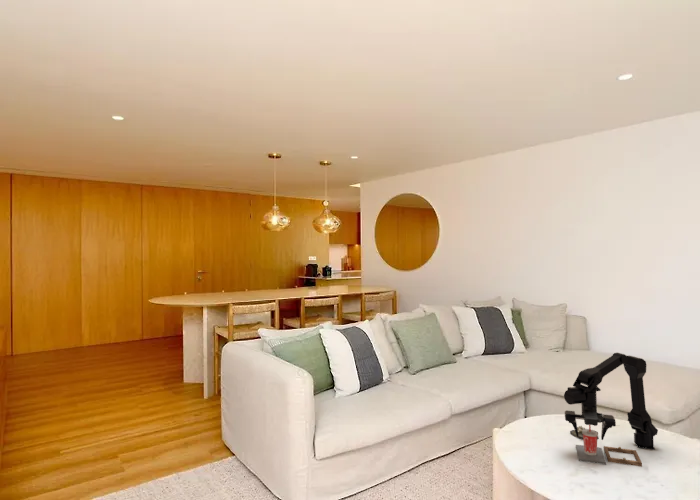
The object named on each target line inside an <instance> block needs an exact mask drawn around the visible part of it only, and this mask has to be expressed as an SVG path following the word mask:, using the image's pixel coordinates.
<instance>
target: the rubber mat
mask: <svg viewBox="0 0 700 500" xmlns="http://www.w3.org/2000/svg"><path fill="white" fill-rule="evenodd" d="M575 450H576V454H577V455H576V456H577V460H578V462H583V463H584V462H585V463H593V464H599V465H607V462H606V460H607V459H606V458H605V457H606V456H605V453H604V450H603V448H602V447H598V446H597V454H596V455H588V454H586V453H585V452H584V444H583V445H582V444H575Z"/></svg>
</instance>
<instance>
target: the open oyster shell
mask: <svg viewBox="0 0 700 500" xmlns="http://www.w3.org/2000/svg"><path fill="white" fill-rule="evenodd" d="M577 429H578V437H577V435H576V432H575V429H572V430H570V431H569V432H570V433H569V434H570V435H571V436H573V437H575V438H577V439H579V440H582V441H583V434H582V430H583V429H586V428H585V427H584V426H582V425H579V426H577ZM598 440H599V435H598V436H597V441H598Z"/></svg>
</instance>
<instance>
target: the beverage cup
mask: <svg viewBox="0 0 700 500" xmlns="http://www.w3.org/2000/svg"><path fill="white" fill-rule="evenodd" d="M591 426H592V425H588V427H589V428H585V429H583V430H582V434H583V440H582V441H583V446H584V452H585V453H586V454H588V455H596V454H597V447H598V440H597V436H598V437H599V432H598V431H596V430H595V429H591Z"/></svg>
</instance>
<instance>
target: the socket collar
mask: <svg viewBox="0 0 700 500" xmlns="http://www.w3.org/2000/svg"><path fill="white" fill-rule="evenodd" d="M610 452H613V453H618V454H627V455H632V456H633V457H634V459H635V460H633V459H627V458H625V457H622V458H620V457H619V458H618V457H611V454H610ZM603 453H604V456H605V457H606V458H605V459H606V460H607V463H612V464H613V463H615V464H622V465H628V466H636V467H641V468H642V467H643V462H642V460H641V458H640V456H639V453H638V452H637V450H635V449H628V448H622V447H621V446H618V447H612V446H605V445H603Z"/></svg>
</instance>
